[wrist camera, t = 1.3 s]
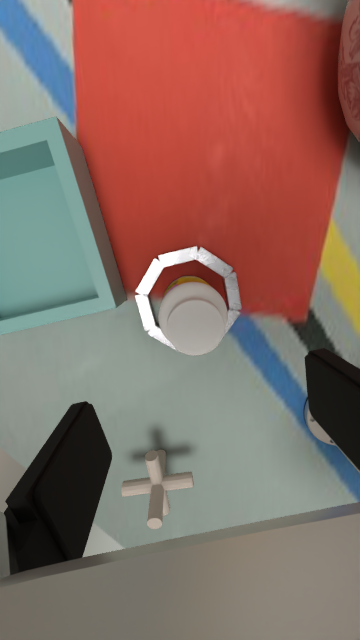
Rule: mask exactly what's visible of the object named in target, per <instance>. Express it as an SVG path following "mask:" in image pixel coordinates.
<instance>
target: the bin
mask: <svg viewBox="0 0 360 640" xmlns="http://www.w3.org/2000/svg"><path fill="white" fill-rule="evenodd" d="M126 300H127V297H126V294H125V291H124V287H123V284H122V281H121V277H120V274H119V271H118V267H117V264H116V260H115V257H114V254H113V250H112V247H111V244H110V240H109V237H108V234H107V230H106V227H105V223H104V220H103V217H102V213H101V210H100V207H99V203H98V200H97V197H96V193H95V190H94V186H93V183H92V180H91V176H90V173H89V170H88V166H87V163H86V160H85V156H84V153H83V149H82V147H81V145H80V144H79V143H78V142H77V141H76V139H75V138H74V137H73V136H72V135H71V134H70V132H69V131H68V130H67V129H66V128H65V126H64V125H63V124H62V123H61V122H60V120H59V119H58V118H57V117H53V118H49V119H46V120H42V121H38V122H35V123H31V124H28V125H24V126H20V127H17V128H13V129H10V130H6V131H2V132H0V335H2V334H6V333H10V332H15V331H19V330H23V329H27V328H32V327H36V326H40V325H45V324H49V323H53V322H58V321H62V320H66V319H70V318H75V317H79V316H83V315H88V314H92V313H96V312H100V311H105V310H109V309H113V308H117V307H118V306H119V305H121V304H122V303H123V302H124V301H126Z"/></svg>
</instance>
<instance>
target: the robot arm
mask: <svg viewBox="0 0 360 640" xmlns="http://www.w3.org/2000/svg"><path fill="white" fill-rule="evenodd" d="M305 368H306V380H307V392H308V400H307V402H306V405H305V410H304V417H305V421H306V424H307V426H308V428H309V430H310V431H311V432H312V433H313V435H314V436H315V437H317V438H318V439H319V440H321V441H323V442H324V443H327V444H330V445H336V446H337V447H338V448H339V449H340V451H341V452H342V453H343V454H344V455H345V456H346V458H347V459H348V460H349V461H350V462H351V463H352V465H353V466H354V467H355V468H356V469H357V470H358V472H359V473H360V369H359V368H357V367H355V366H354V365H352V364H350V363H349V362H347V361H345V360H344V359H342V358H340V357H339V356H337V355H335V354H334V353H332V352H330V351H329V350H327V349H325V348H322V349H317V350H313V351H309V353H308V355H307V356H305ZM111 460H112V453H111V449H110V447H109V444H108V442H107V439H106V437H105V434H104V432H103V429H102V427H101V424H100V422H99V420H98V417H97V415H96V412H95V410H94V407H93V405H92V404H89V403H88V402H86V401H85V402H80V403H76V404H72V405H71V406H70V408H69V409H68V411H67V412H66V414H65V415H64V417H63V418H62V419H61V421H60V422H59V424H58V425H57V427H56V428H55V430H54V431H53V433H52V434H51V435H50V437H49V438H48V440H47V441H46V443H45V444H44V446H43V447H42V449H41V450H40V451H39V453H38V454H37V456H36V457H35V459H34V460H33V462H32V463H31V465H30V466H29V467H28V469H27V470H26V472H25V473H24V475H23V476H22V478H21V479H20V481H19V482H18V483H17V485H16V487H15V488H14V489H13V491H12V492H11V494H10V495H9V497H8V498H7V499H6V503H7V505H8V508H7V509H6V510H5V512H4V513H2V512H0V640H360V502H357V503H352V504H347V505H342V506H337V507H332V508H326V509H321V510H316V511H311V512H306V513H300V514H295V515H290V516H285V517H280V518H275V519H270V520H265V521H260V522H255V523H250V524H245V525H240V526H235V527H230V528H225V529H220V530H215V531H210V532H205V533H200V534H195V535H190V536H185V537H180V538H175V539H170V540H165V541H160V542H155V543H151V544H146V545H141V546H136V547H131V548H126V549H122V550H117V551H112V552H108V553H102V554H97V555H93V556H88V557H83V558H82V556H83V553H84V550H85V547H86V543H87V540H88V536H89V533H90V530H91V527H92V523H93V520H94V517H95V513H96V510H97V507H98V503H99V500H100V497H101V494H102V490H103V487H104V484H105V480H106V477H107V474H108V470H109V467H110V464H111Z"/></svg>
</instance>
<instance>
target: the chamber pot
mask: <svg viewBox="0 0 360 640" xmlns="http://www.w3.org/2000/svg"><path fill="white" fill-rule="evenodd" d="M338 96H339V100H340V103H341V107H342V110H343V114H344V117H345V120H346V124H347V126H348V127H349V129H350V130H351V131H352V133H353V134H354V136H355V137H356V138H357V140H358V141H359V143H360V0H348V2H347V7H346V11H345V15H344V19H343V25H342V32H341V40H340V47H339V55H338Z"/></svg>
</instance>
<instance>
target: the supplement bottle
mask: <svg viewBox="0 0 360 640" xmlns="http://www.w3.org/2000/svg"><path fill="white" fill-rule="evenodd" d="M227 320H228V312H227V307H226V304H225V302H224V300H223V298H222V297H221V295H220V294H219V293H218V292H217V291H216V290H215V289H214V288H212V287H211V286H210V285H209V284H208V283H207V282H205V281H204V280H202V279H201V278H199V277H196V276H183V277H180V278H177V279H176V280H174V281H173V282H172V283H171V284H170V285H169V286H168V288H167V289H166V291H165V294H164V296H163V299H162V302H161V305H160V308H159V313H158V321H159V326H160V329H161V331H162V333H163V335H164V336H165V337H166V339H167V340H168V341H169V342H170V343H171V344H172V345H173V346H174V347H175V348H176V349H177V350H179V351H180V352H182V353H184V354H187V355H194V356H197V355H203V354H206V353H208V352H210V351H212V350H213V349H215V348H216V347H217V346H218V344H219V343H220V341H221V340H222V338H223V335H224V330H225V328H226V325H227Z"/></svg>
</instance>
